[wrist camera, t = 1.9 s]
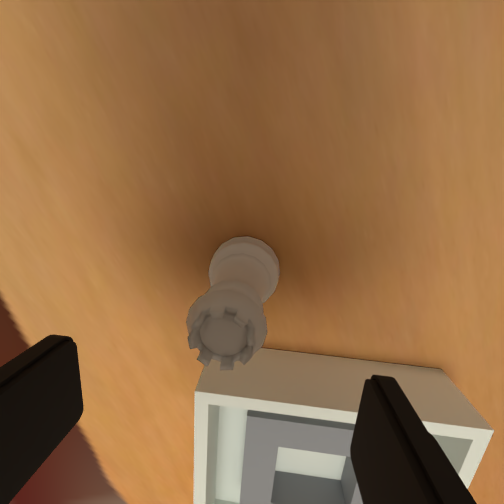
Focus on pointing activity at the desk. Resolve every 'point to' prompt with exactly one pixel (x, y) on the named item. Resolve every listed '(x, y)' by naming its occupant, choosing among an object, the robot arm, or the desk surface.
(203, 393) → the box
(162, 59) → the desk surface
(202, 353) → the rook chess piece
